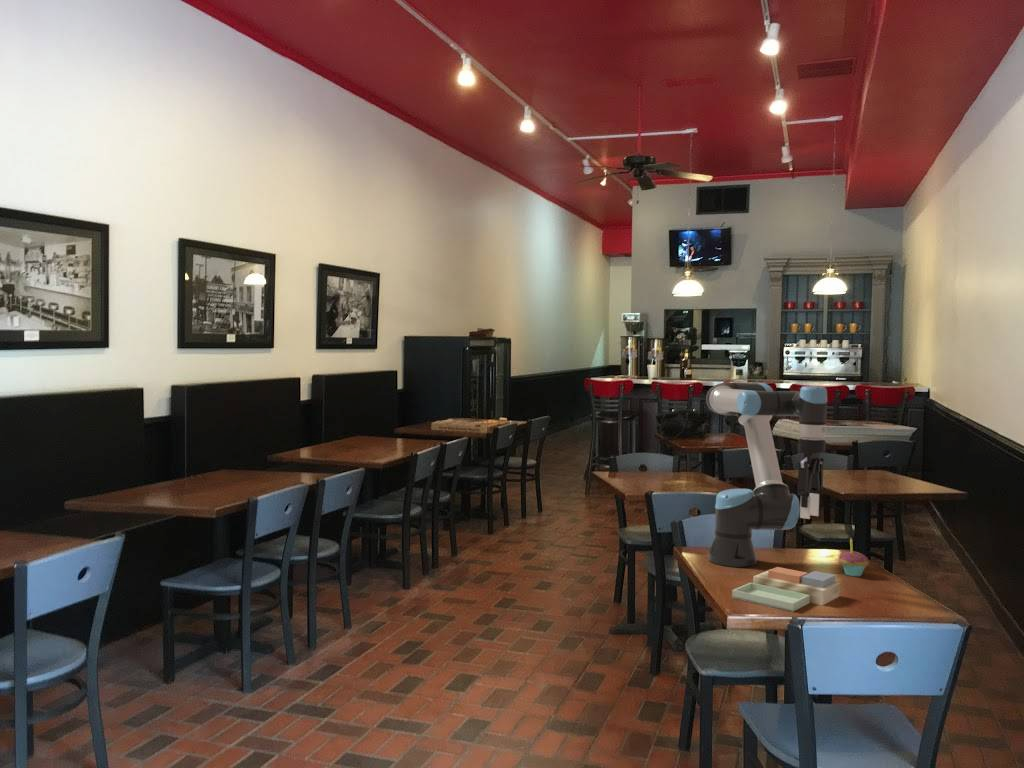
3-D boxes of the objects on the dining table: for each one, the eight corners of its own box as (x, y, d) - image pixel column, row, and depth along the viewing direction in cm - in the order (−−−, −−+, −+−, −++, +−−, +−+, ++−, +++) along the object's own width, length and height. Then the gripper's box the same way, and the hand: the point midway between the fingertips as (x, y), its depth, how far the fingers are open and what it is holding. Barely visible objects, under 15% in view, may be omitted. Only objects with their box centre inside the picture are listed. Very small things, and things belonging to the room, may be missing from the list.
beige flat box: (752, 590, 235) (753, 576, 235) (771, 582, 244) (771, 568, 244) (822, 605, 222) (823, 590, 222) (839, 596, 231) (839, 582, 231)
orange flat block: (768, 577, 234) (768, 570, 234) (777, 573, 239) (777, 566, 239) (799, 583, 228) (799, 576, 228) (807, 579, 233) (807, 572, 233)
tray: (732, 598, 227) (732, 590, 227) (750, 590, 235) (750, 582, 235) (792, 611, 216) (793, 603, 216) (809, 603, 224) (809, 595, 224)
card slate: (823, 588, 224) (823, 580, 224) (801, 583, 228) (801, 576, 228) (835, 582, 231) (835, 574, 231) (814, 577, 235) (814, 570, 235)
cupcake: (859, 579, 250) (860, 540, 250) (832, 573, 256) (834, 535, 256) (873, 575, 255) (874, 536, 255) (847, 569, 262) (848, 531, 262)
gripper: (812, 441, 233) (809, 523, 234) (836, 437, 247) (833, 514, 248) (786, 439, 238) (783, 519, 239) (811, 435, 252) (809, 511, 253)
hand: (809, 516), depth 244 cm, fingers open, 6 cm apart
